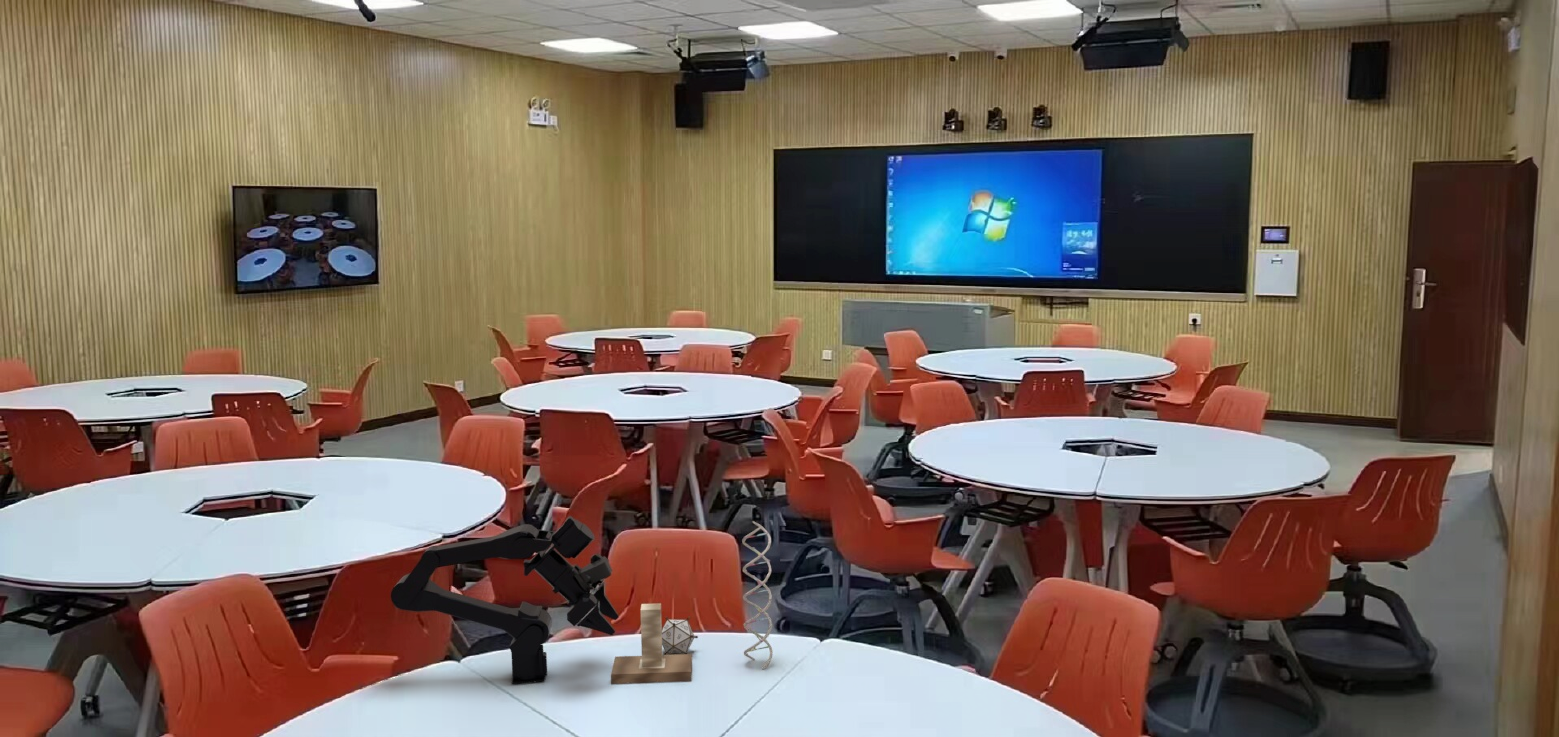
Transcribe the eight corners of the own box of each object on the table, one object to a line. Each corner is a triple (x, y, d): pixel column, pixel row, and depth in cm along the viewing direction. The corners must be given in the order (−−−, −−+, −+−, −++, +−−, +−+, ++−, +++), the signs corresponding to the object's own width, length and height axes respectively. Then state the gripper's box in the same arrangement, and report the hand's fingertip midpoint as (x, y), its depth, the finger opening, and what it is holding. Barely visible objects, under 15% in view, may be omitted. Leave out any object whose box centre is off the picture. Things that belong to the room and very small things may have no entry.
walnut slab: (611, 683, 234) (611, 673, 234) (615, 665, 244) (615, 656, 243) (691, 680, 235) (691, 670, 234) (692, 663, 245) (691, 653, 244)
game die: (684, 668, 252) (709, 628, 254) (677, 668, 244) (703, 627, 245) (650, 645, 254) (676, 605, 255) (642, 644, 246) (668, 603, 247)
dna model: (739, 661, 245) (737, 521, 242) (768, 657, 247) (766, 519, 244) (747, 672, 239) (745, 529, 236) (777, 668, 241) (776, 526, 238)
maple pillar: (642, 667, 237) (640, 610, 236) (643, 660, 241) (641, 603, 239) (661, 666, 237) (660, 609, 236) (662, 659, 241) (661, 603, 240)
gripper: (582, 558, 226) (640, 612, 228) (592, 534, 245) (645, 584, 247) (542, 598, 227) (600, 652, 228) (555, 571, 245) (609, 621, 247)
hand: (615, 625), depth 238 cm, fingers open, 9 cm apart
